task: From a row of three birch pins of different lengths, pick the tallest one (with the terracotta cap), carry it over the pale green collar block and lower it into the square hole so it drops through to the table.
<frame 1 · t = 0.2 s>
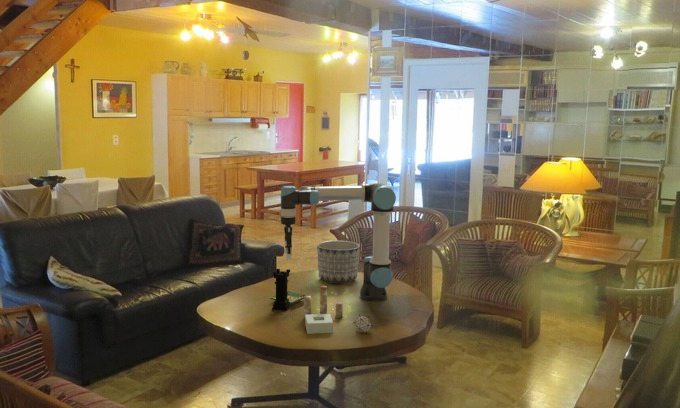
hand: (288, 256, 306), 28 cm above the table, fingers open, 13 cm apart
collar block: (318, 328, 281), on the table
planter: (337, 280, 363), on the table
spiky lattice ball: (362, 332, 278), on the table
pin short: (339, 316, 298), on the table
chess piece: (281, 308, 310), on the table
pin long: (323, 317, 297), on the table
pin medium: (307, 318, 295), on the table
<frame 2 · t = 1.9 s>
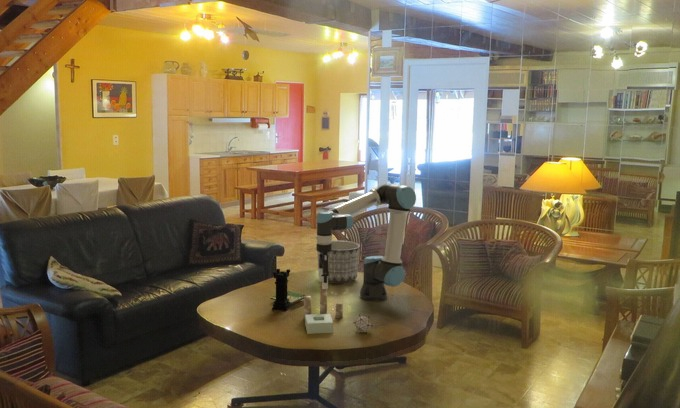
hand: (323, 284, 294), 17 cm above the table, fingers open, 13 cm apart
nothing on the table moved.
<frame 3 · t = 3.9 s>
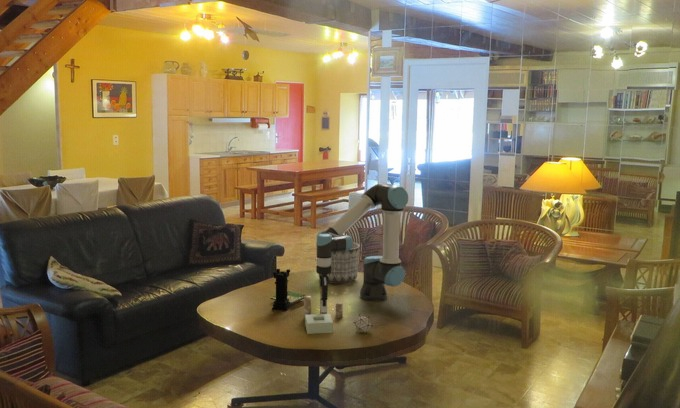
hand: (323, 310, 296), 4 cm above the table, fingers closed on pin long, 3 cm apart
pin long: (323, 317, 297), on the table, touching gripper
everything else where it was.
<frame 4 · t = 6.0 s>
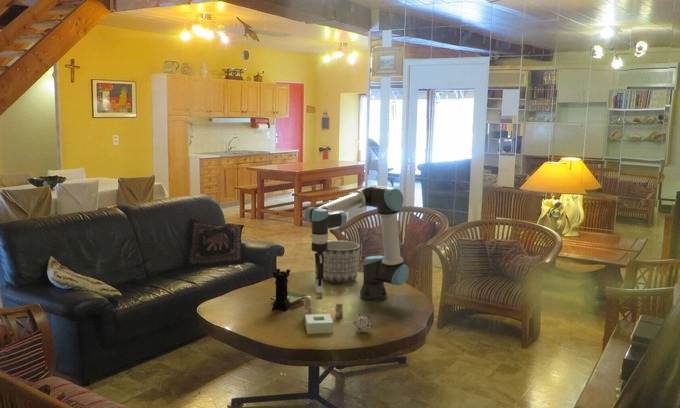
hand: (318, 290, 279), 19 cm above the table, fingers closed on pin long, 3 cm apart
pin long: (318, 298, 279), point 15 cm above the table, touching gripper
everything else where it was.
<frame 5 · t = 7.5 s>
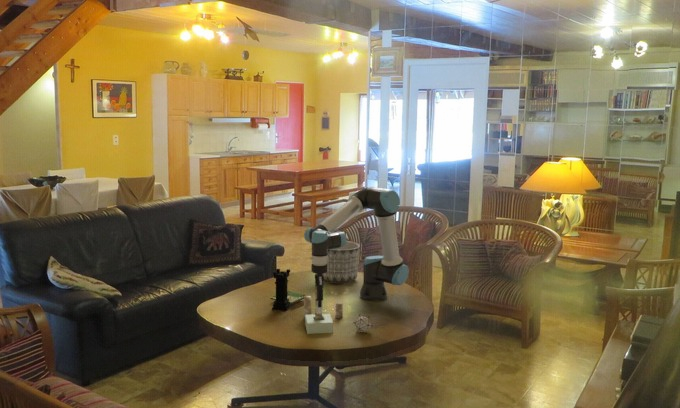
hand: (318, 311, 280), 8 cm above the table, fingers closed on pin long, 3 cm apart
pin long: (318, 319, 281), point 5 cm above the table, touching gripper
everything else where it was.
when the fingers open (7 cm above the table, at t = 8.4 s): pin long drops 2 cm, resting in collar block.
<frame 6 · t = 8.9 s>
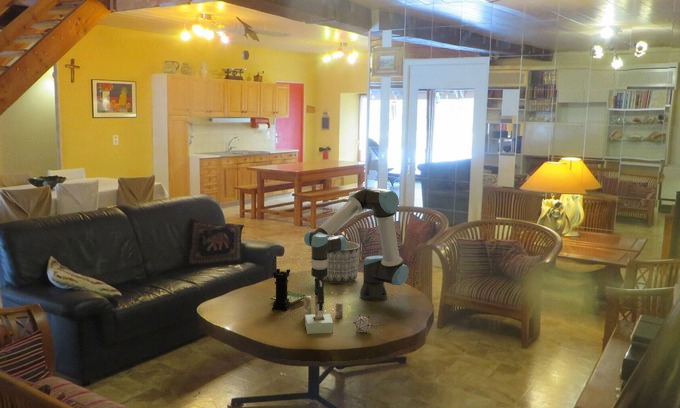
hand: (318, 312, 280), 8 cm above the table, fingers open, 11 cm apart
pin long: (318, 328, 281), resting in collar block
everything else where it was.
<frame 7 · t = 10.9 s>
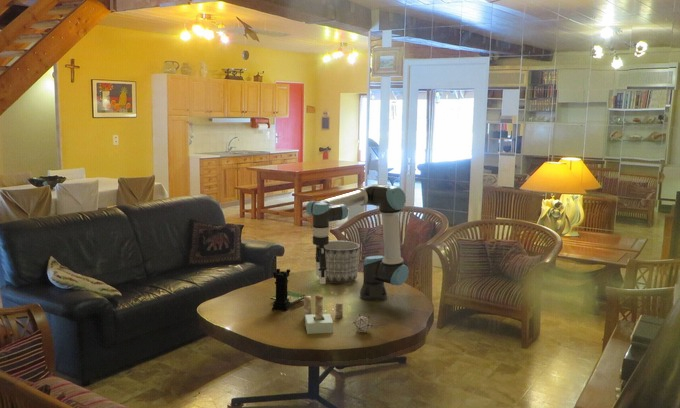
hand: (320, 279, 280), 23 cm above the table, fingers open, 13 cm apart
nothing on the table moved.
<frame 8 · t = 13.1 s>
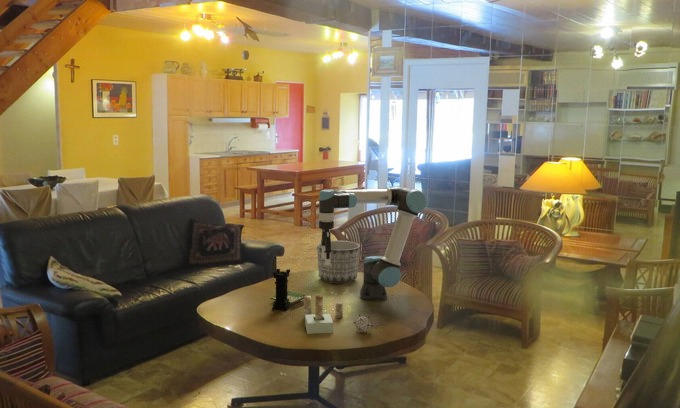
hand: (325, 261, 301), 27 cm above the table, fingers open, 13 cm apart
nothing on the table moved.
at the end: pin long 0.0 cm off-centre on the collar block, point 0.0 cm above the collar block's base; pin long tilted 0°; the gripper is holding nothing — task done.
